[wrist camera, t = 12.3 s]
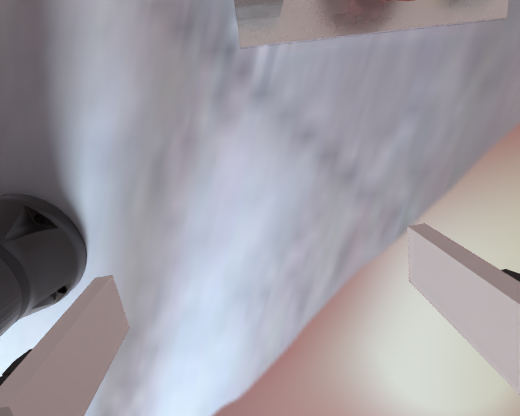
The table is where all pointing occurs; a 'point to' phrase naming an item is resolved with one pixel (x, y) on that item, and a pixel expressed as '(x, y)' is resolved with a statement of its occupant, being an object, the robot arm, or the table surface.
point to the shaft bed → (352, 18)
